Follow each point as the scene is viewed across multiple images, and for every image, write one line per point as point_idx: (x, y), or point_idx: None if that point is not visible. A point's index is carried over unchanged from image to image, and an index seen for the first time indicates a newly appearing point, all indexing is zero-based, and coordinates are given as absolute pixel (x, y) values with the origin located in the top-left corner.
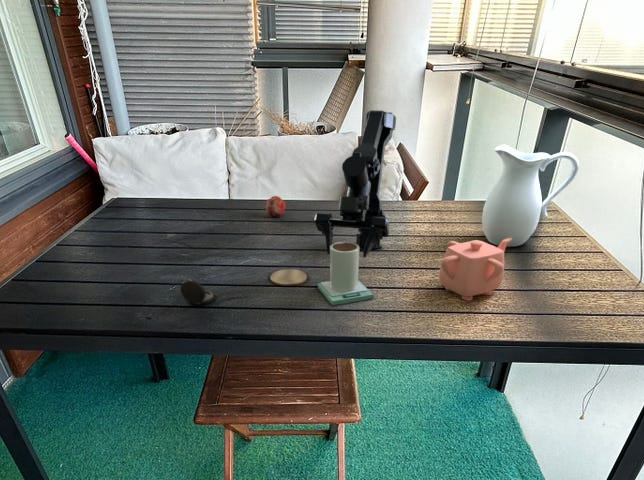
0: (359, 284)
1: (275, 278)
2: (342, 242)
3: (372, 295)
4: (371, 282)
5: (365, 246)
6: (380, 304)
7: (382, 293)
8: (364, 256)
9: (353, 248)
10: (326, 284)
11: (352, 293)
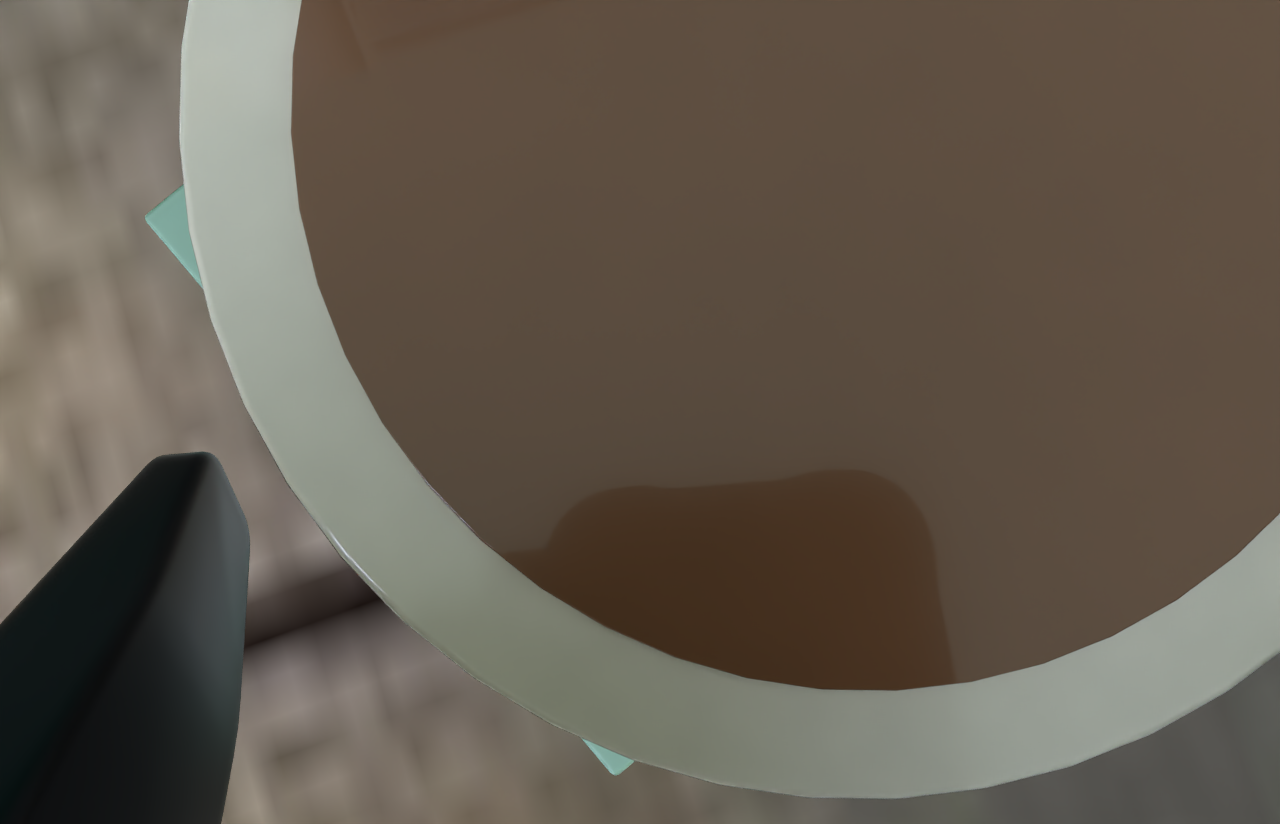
0: None
1: None
2: (1154, 649)
3: (160, 206)
4: (364, 815)
5: (60, 706)
6: (13, 79)
7: (82, 469)
8: (170, 455)
9: (414, 22)
10: None
11: None
